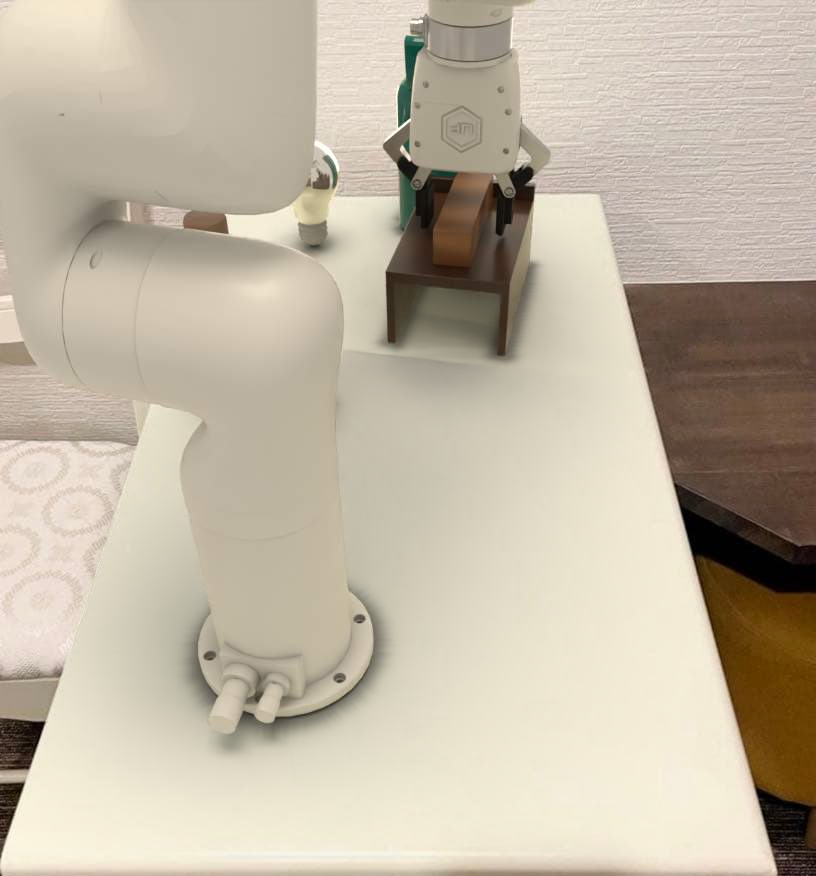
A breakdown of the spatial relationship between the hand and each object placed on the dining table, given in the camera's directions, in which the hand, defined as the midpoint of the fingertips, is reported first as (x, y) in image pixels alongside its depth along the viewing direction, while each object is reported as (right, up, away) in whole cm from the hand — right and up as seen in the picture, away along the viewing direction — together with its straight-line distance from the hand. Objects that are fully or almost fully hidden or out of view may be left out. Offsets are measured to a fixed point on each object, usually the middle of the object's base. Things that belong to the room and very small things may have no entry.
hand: (464, 224), depth 99 cm
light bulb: (-16, +3, +16) cm, 23 cm away
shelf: (0, -6, +6) cm, 9 cm away
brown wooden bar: (0, 0, +1) cm, 1 cm away
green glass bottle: (-2, +6, +19) cm, 20 cm away
